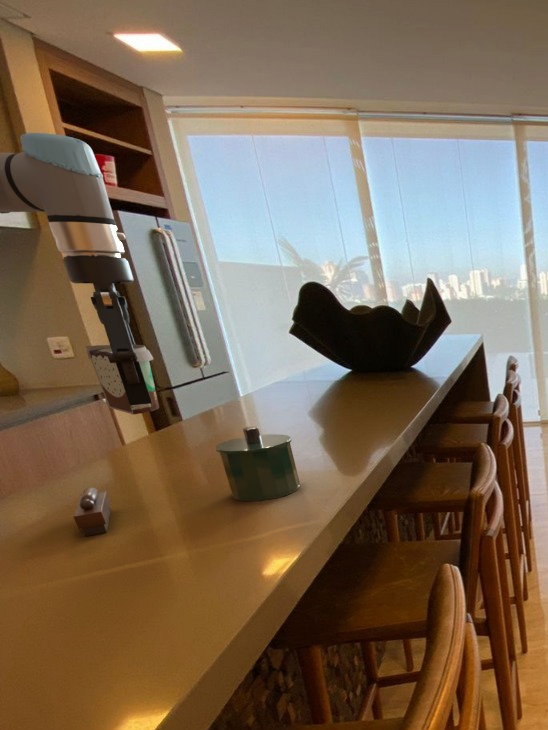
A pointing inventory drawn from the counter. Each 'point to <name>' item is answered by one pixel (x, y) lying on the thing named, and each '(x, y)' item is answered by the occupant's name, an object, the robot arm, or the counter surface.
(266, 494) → the pot
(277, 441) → the pot lid
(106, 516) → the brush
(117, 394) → the food container
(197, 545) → the counter surface
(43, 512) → the counter surface
